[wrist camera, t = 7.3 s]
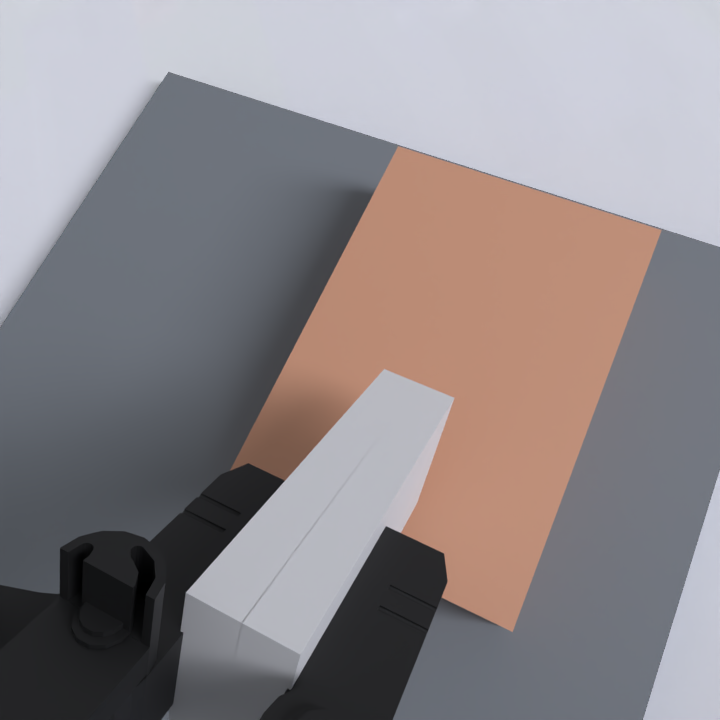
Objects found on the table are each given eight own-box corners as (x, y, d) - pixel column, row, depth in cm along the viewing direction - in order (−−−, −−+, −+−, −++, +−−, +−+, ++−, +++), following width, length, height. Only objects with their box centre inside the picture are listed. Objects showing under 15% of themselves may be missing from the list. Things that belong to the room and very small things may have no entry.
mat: (771, 277, 18) (781, 267, 18) (512, 1109, 13) (515, 1131, 13) (175, 84, 23) (168, 71, 23) (-189, 643, 18) (-209, 645, 17)
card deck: (501, 626, 16) (633, 274, 18) (512, 631, 13) (661, 230, 16) (248, 503, 17) (402, 196, 20) (220, 489, 15) (398, 146, 18)
